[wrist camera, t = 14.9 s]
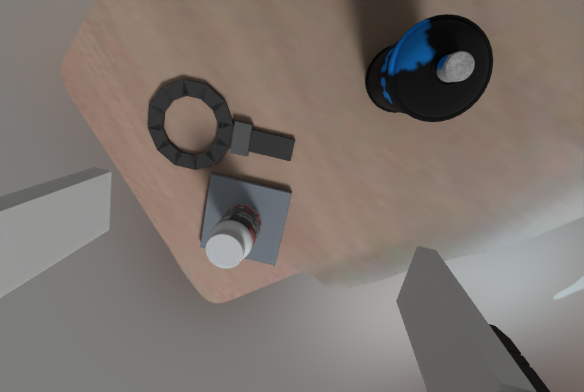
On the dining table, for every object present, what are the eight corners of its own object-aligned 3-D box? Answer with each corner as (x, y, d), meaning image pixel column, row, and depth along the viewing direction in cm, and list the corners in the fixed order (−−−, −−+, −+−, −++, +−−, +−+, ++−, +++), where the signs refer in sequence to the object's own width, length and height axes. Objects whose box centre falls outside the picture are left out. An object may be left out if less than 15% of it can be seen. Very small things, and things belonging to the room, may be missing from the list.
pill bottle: (270, 225, 48) (257, 257, 39) (241, 245, 49) (222, 281, 40) (245, 195, 47) (225, 221, 38) (217, 217, 48) (191, 246, 39)
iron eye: (154, 72, 44) (150, 71, 43) (302, 106, 43) (302, 107, 42) (147, 156, 48) (144, 158, 47) (284, 189, 47) (283, 191, 46)
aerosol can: (444, 61, 40) (551, 30, 21) (410, 122, 43) (478, 145, 24) (384, 32, 40) (439, -24, 21) (354, 96, 42) (377, 98, 23)
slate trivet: (212, 172, 47) (210, 174, 47) (292, 191, 47) (291, 193, 46) (202, 244, 51) (200, 247, 50) (275, 262, 51) (274, 265, 50)
